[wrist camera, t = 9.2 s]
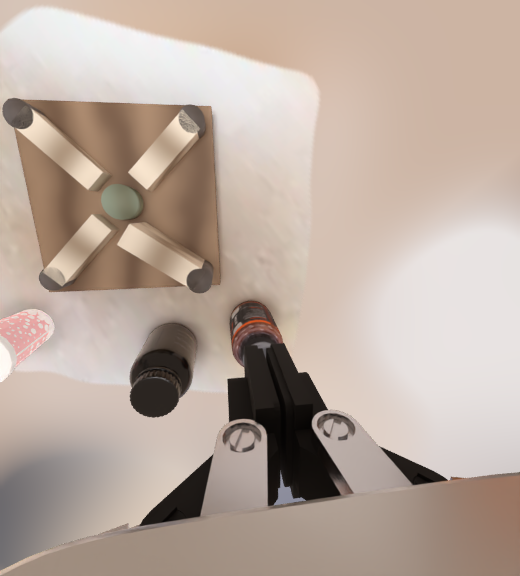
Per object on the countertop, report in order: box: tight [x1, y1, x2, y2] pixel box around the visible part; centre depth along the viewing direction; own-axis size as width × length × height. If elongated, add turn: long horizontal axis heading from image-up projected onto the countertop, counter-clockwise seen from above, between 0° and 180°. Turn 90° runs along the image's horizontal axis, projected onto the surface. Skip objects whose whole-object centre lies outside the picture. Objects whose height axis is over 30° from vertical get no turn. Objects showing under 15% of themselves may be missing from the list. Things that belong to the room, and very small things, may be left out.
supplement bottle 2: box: [230, 301, 283, 367], centre depth 35 cm, size 6×6×11 cm
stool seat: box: [3, 98, 220, 292], centre depth 32 cm, size 20×20×5 cm
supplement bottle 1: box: [130, 324, 197, 417], centre depth 34 cm, size 7×7×12 cm
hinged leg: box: [117, 222, 214, 293], centre depth 31 cm, size 10×3×6 cm, turn 55°
